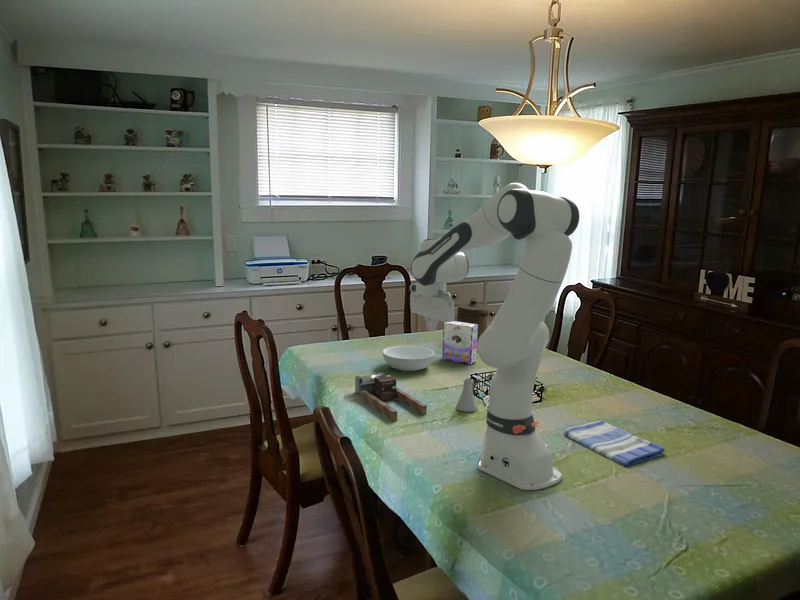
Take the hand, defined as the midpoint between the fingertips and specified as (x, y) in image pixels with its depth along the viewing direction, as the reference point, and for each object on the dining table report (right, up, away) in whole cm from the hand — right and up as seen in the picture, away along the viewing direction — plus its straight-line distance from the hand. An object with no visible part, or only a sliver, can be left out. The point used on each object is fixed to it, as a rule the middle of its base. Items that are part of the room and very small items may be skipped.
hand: (431, 330), depth 188 cm
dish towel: (+52, -33, -19) cm, 64 cm away
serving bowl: (-7, -18, +48) cm, 52 cm away
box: (-15, -24, +13) cm, 32 cm away
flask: (+12, -26, +5) cm, 30 cm away
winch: (-21, -23, +19) cm, 36 cm away
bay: (-13, -26, +6) cm, 29 cm away
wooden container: (+24, -11, +88) cm, 92 cm away
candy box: (+15, -16, +60) cm, 64 cm away
